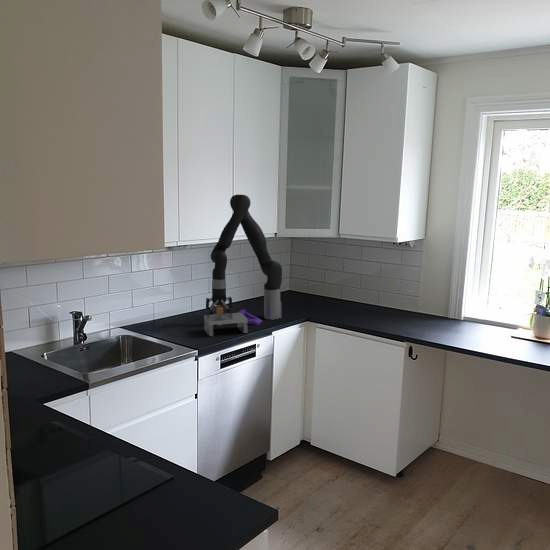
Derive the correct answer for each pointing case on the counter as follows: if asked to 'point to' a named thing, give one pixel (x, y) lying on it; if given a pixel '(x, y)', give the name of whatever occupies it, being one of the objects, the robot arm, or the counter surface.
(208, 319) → the grey slotted platform
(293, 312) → the counter surface
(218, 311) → the orange rectangular block
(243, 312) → the bracket
